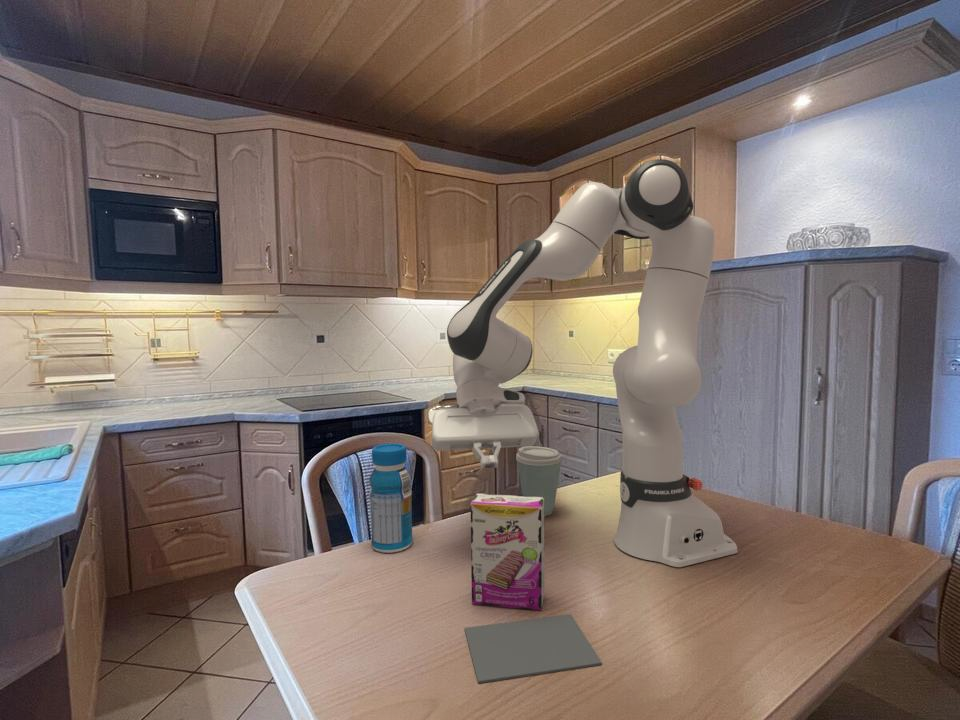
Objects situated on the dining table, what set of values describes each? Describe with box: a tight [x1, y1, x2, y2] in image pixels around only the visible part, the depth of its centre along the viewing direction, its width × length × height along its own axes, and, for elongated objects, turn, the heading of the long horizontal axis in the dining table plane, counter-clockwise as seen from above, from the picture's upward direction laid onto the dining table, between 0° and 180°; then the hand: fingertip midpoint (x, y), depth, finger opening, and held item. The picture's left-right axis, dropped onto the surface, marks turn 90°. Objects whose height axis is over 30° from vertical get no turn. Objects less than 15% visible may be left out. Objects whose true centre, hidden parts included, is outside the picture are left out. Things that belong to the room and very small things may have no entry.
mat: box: [464, 613, 603, 684], centre depth 67 cm, size 16×11×1 cm
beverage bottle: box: [368, 443, 414, 554], centre depth 99 cm, size 8×8×20 cm
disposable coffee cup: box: [515, 445, 563, 517], centre depth 115 cm, size 11×11×15 cm
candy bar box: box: [469, 493, 545, 611], centre depth 77 cm, size 11×5×16 cm, turn 78°
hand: (489, 466), depth 89 cm, fingers closed
